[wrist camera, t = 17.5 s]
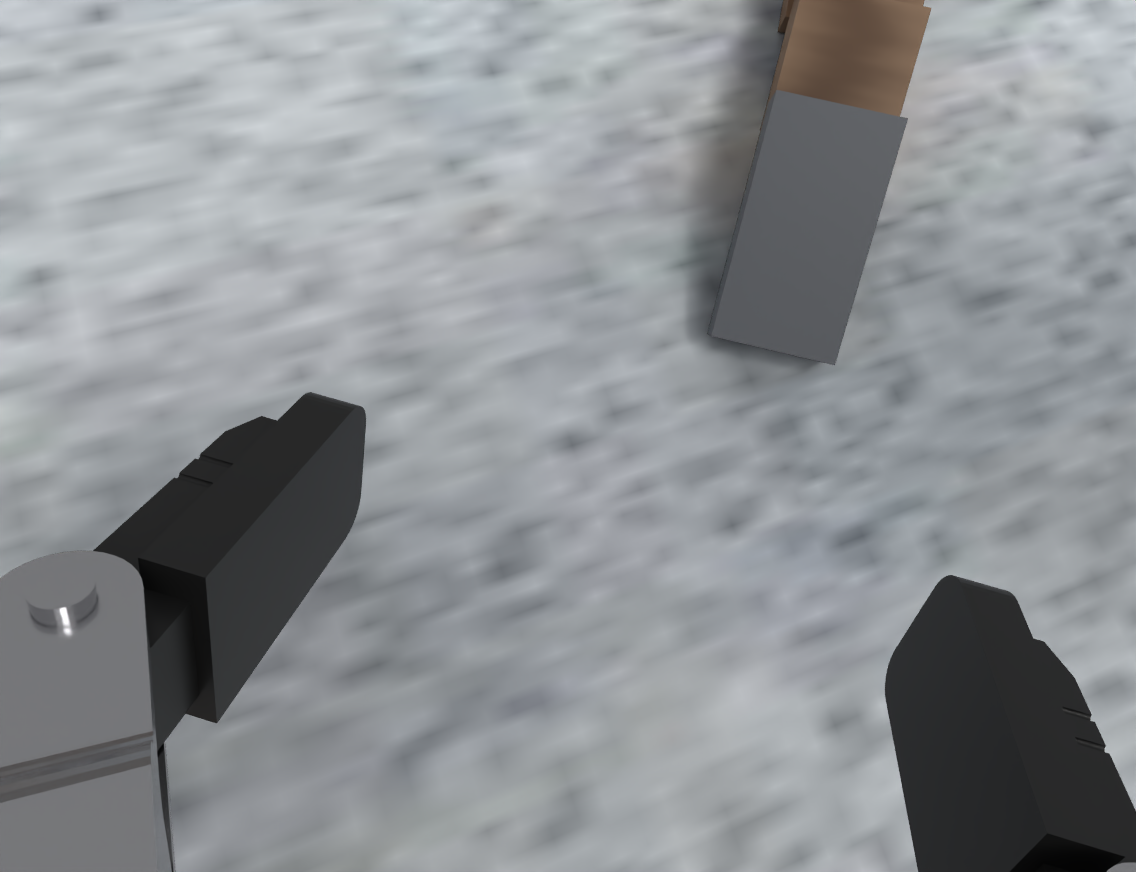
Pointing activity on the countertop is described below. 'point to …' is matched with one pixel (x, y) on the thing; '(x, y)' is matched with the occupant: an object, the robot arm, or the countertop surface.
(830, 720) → the countertop surface
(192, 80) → the countertop surface
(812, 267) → the domino
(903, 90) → the domino
